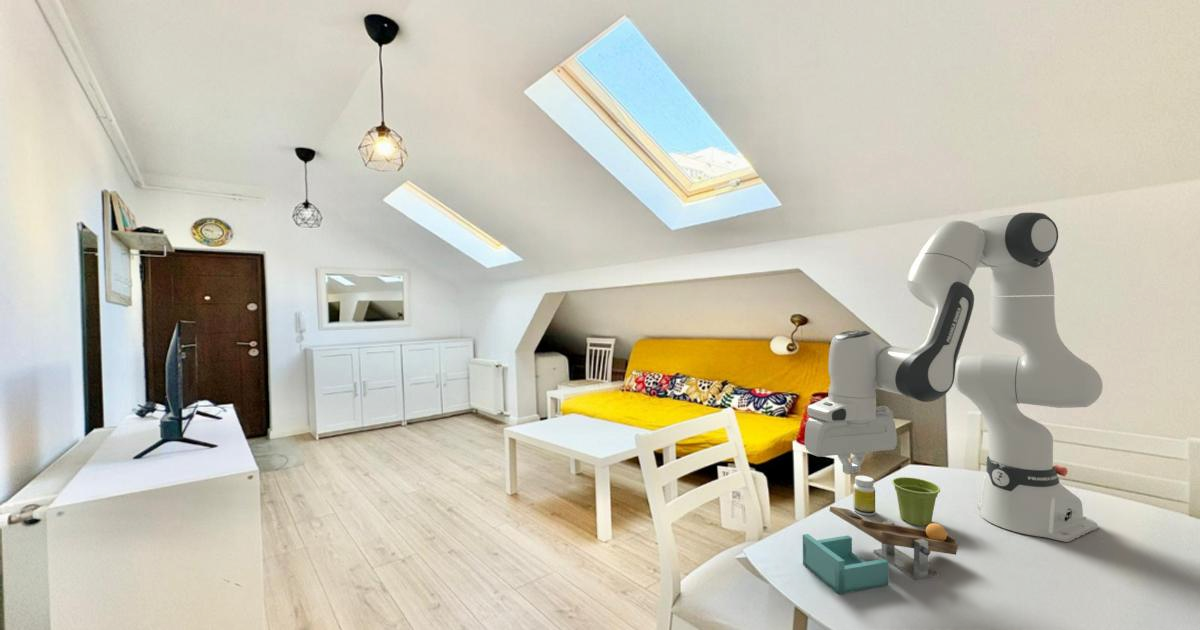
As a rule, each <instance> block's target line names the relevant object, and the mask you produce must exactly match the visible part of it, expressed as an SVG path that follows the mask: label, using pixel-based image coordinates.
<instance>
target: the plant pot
mask: <svg viewBox="0 0 1200 630" xmlns="http://www.w3.org/2000/svg"><path fill="white" fill-rule="evenodd" d="M891 483H892V484H893V486H894V489H895V491H896V496H897V497H896V498H897V503H898V510H899V517H900V519H901V520H903V521H905V522H907V523H908V524H910V525H914V526H917V527H918V526H919V527H924V526H928V525H929V524H932V523H933V522H932V520H933V516H934V509H935V505H936V499H937V497H938V494H939V493H940V492H941V487H940V486H939V485H937V484H936V483H934V482H931V481H929V480H926V479H921V478H917V477H906V476H903V477H895V478H893V479H892V480H891Z"/></svg>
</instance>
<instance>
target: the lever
mask: <svg viewBox="0 0 1200 630" xmlns="http://www.w3.org/2000/svg"><path fill="white" fill-rule="evenodd" d="M829 512H831V513H832V514H833V515H835V516H837V517H839V518H840V519H842V520H843V521H845V522H847V523H848V524H850V525H852V526H854V527H855V528H856V529H858V530H860V531H862V532H863V533H865V534H866V535H867V536H869V537H871V538H873V539H874V540H876V541H877V542H879V543H881V545H882V544H888V545H895V546H897V547H903V548H908V549H914V540H918V539H924V540H926V541H927V542H928V549H929V550H930V552H934V553H941V554H949V555H955V556H956V555H957V552H958V549H959V548H958V547H959V544H957V543H956V541H957V539H956V538H954V537H952V536H950V535H948V534H947V538H946V540H945V541H937V540H931V539H930V538H929V537H928V536H927V534H926V529H921V528H915V527H909V526H901V525H898V524H896V525H891V524H885V523H882V522H878V521H872V520H868V519H867V518H865V517H864V516H863V517H862V516H861V515H860V514H859V513H857V512H855V511H853V510H851V509H848V508H842V507H836V506H829Z"/></svg>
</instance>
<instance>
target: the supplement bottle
mask: <svg viewBox="0 0 1200 630" xmlns="http://www.w3.org/2000/svg"><path fill="white" fill-rule="evenodd" d="M874 484H875V483H874V479H873V478H872V477H870V476H867V475H855V478H854V484H853V486H852V487H853V489H852V490H853V502H852V503H853V505H852V506H853V507H852V508H853V512H854V513H856V514H858V515H860V516H861V515H862V516H868V517H869V516H874V515H875V514H876V489H875V485H874Z"/></svg>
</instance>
